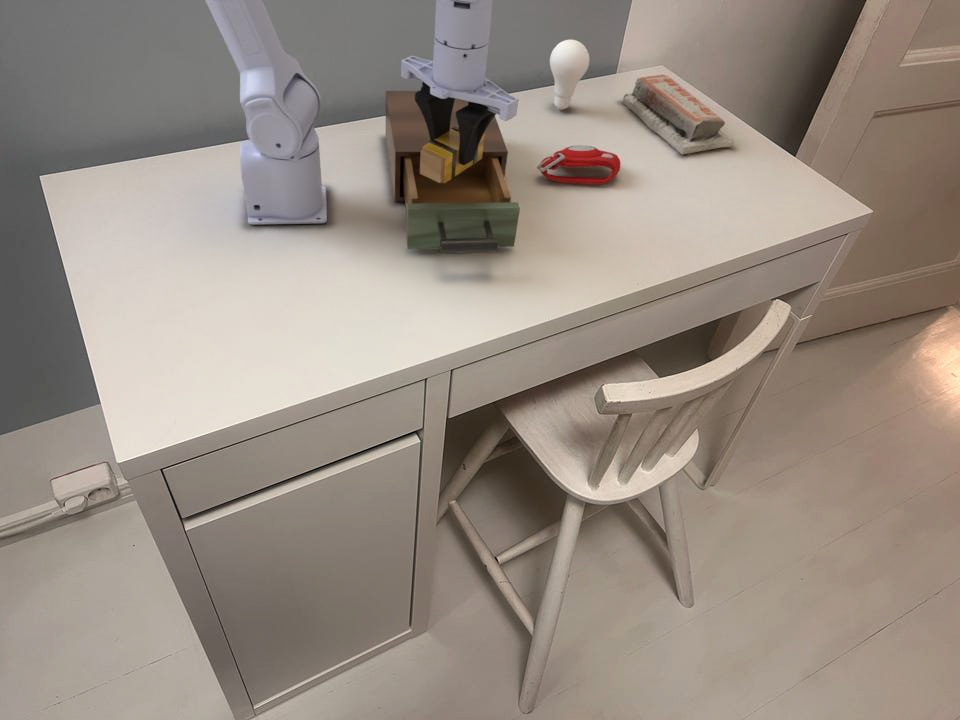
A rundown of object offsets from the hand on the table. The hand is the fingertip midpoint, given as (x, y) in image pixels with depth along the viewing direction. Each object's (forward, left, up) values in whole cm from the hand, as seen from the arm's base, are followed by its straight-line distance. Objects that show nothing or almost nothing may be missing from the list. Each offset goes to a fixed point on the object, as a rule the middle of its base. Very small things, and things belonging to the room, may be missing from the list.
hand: (452, 154), depth 85 cm
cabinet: (+1, +14, -10) cm, 17 cm away
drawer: (+1, 0, -9) cm, 9 cm away
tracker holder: (+20, +13, -10) cm, 26 cm away
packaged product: (+41, +27, -10) cm, 50 cm away
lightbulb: (+23, +32, -10) cm, 41 cm away
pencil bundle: (0, 0, -1) cm, 1 cm away
